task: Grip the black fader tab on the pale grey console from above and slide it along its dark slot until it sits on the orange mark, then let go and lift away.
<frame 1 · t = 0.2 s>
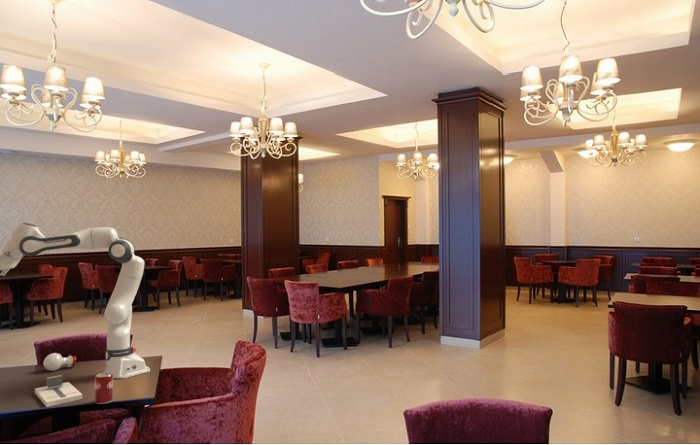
soda can: (103, 402, 211), on the table
console: (58, 395, 219), on the table
potion bottle: (59, 369, 261), on the table
fader: (54, 381, 224), point 5 cm above the table, slide at -7.0 cm
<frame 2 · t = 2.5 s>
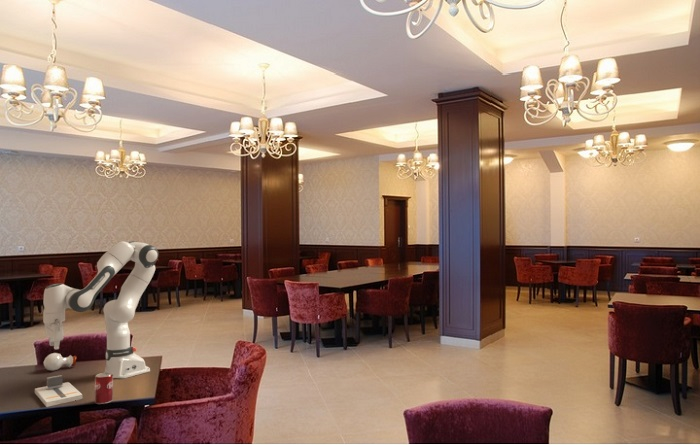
hand: (54, 347, 224), 21 cm above the table, tool pointing down, fingers open, 8 cm apart
nothing on the table moved.
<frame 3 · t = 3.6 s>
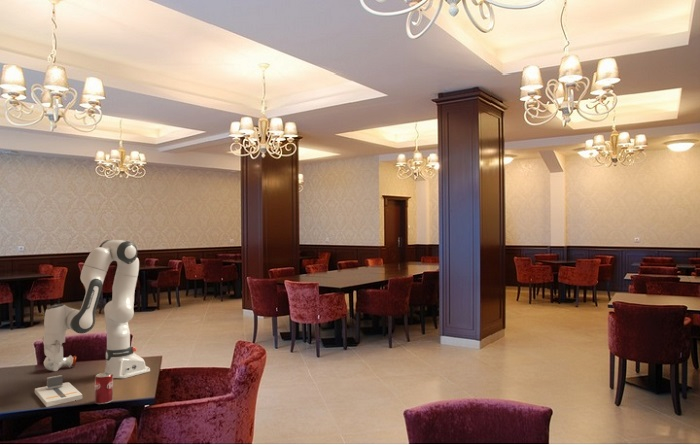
hand: (53, 368, 223), 11 cm above the table, tool pointing down, fingers open, 8 cm apart
nothing on the table moved.
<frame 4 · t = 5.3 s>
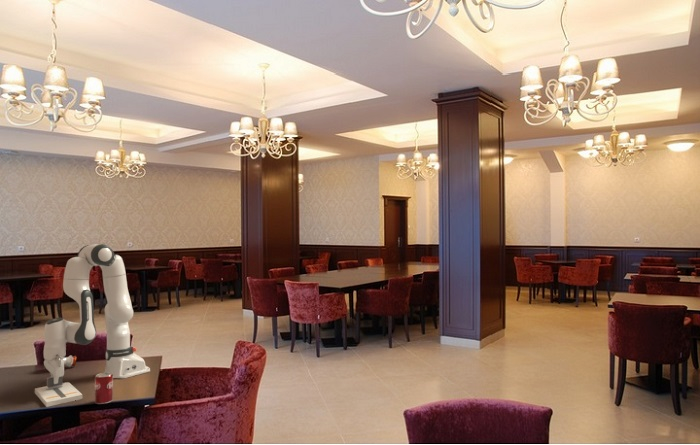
hand: (54, 382, 224), 5 cm above the table, tool pointing down, fingers closed on fader, 2 cm apart
fader: (54, 381, 224), point 5 cm above the table, slide at -7.0 cm, touching gripper
everything else where it was.
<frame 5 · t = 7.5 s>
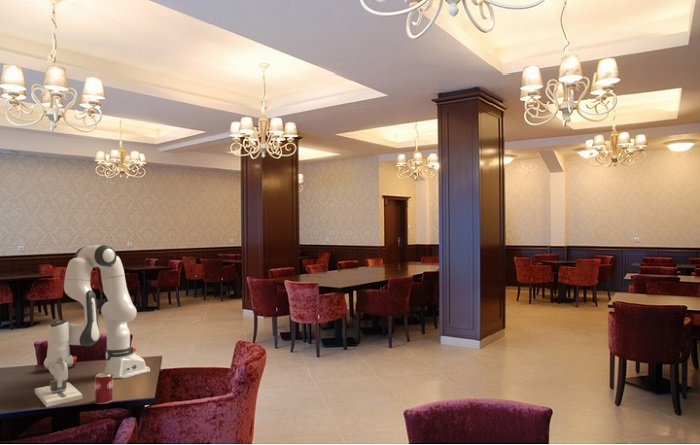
hand: (58, 386, 219), 5 cm above the table, tool pointing down, fingers closed on fader, 2 cm apart
fader: (58, 385, 219), point 5 cm above the table, slide at 0.3 cm, touching gripper
everything else where it was.
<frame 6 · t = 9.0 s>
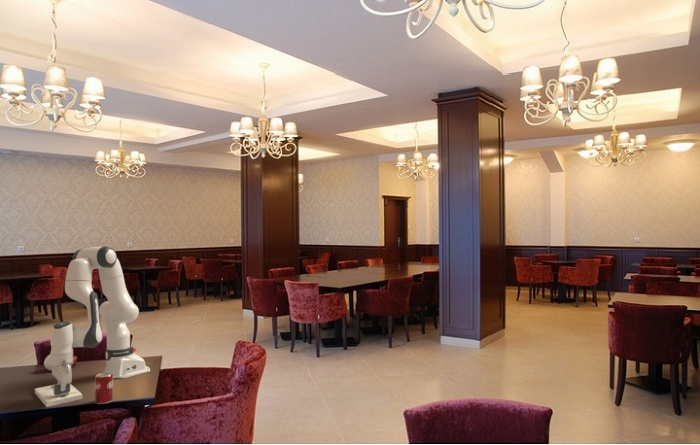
hand: (61, 389, 214), 5 cm above the table, tool pointing down, fingers closed on fader, 2 cm apart
fader: (61, 388, 214), point 5 cm above the table, slide at 6.8 cm, touching gripper
everything else where it was.
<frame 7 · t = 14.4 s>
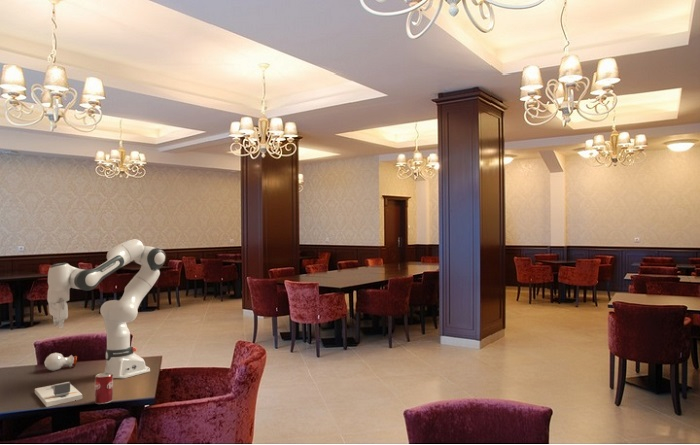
hand: (58, 326, 224), 31 cm above the table, tool pointing down, fingers open, 8 cm apart
fader: (61, 388, 214), point 5 cm above the table, slide at 7.0 cm
everything else where it was.
at the end: fader slide at 7.0 cm; the gripper is holding nothing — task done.
